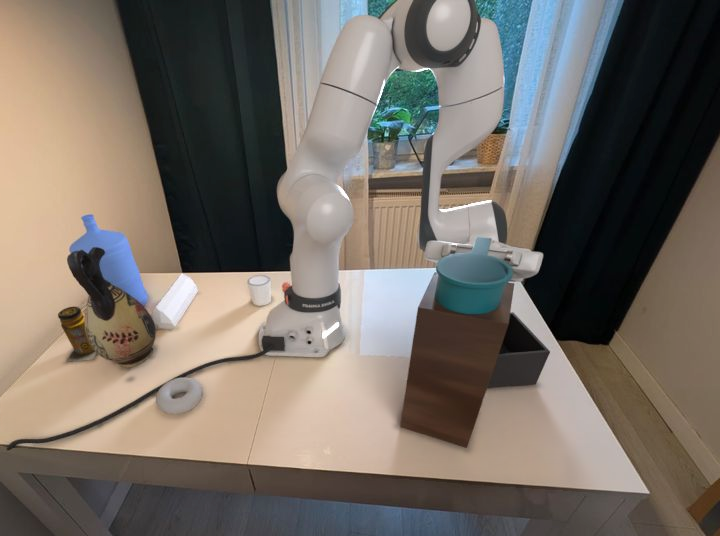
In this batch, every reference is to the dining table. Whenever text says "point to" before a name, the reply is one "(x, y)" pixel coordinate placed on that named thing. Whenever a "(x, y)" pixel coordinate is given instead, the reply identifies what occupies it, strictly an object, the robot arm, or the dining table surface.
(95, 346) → the ceramic jug
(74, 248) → the water jug
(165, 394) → the donut
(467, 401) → the walnut wood pedestal
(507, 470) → the dining table surface
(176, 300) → the white hexagonal prism
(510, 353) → the dark grey open box
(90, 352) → the condiment
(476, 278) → the cup
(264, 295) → the shot glass
